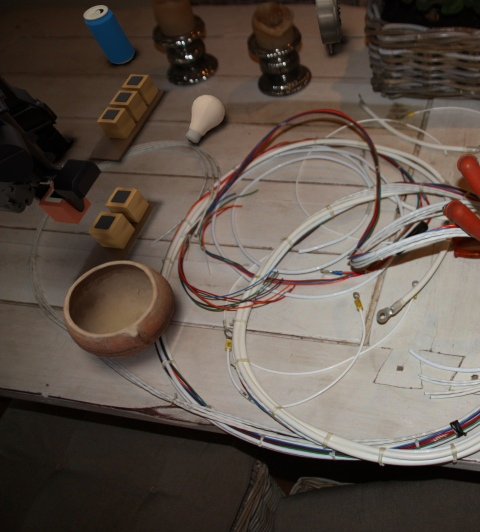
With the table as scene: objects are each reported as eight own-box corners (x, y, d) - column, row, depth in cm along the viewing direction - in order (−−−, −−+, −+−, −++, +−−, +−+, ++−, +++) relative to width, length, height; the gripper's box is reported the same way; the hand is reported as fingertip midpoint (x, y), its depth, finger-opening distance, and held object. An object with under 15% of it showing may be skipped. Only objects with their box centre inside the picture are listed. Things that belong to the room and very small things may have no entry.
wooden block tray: (79, 278, 96) (60, 261, 92) (126, 201, 106) (111, 182, 101) (113, 282, 95) (96, 265, 90) (158, 204, 104) (144, 185, 100)
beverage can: (141, 53, 134) (115, 7, 124) (122, 68, 131) (93, 22, 121) (124, 47, 136) (97, 1, 127) (105, 62, 134) (75, 16, 124)
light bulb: (188, 134, 107) (215, 89, 109) (168, 130, 111) (195, 86, 113) (211, 153, 113) (236, 109, 115) (191, 148, 116) (216, 106, 118)
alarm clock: (323, 31, 131) (306, -38, 117) (345, 27, 130) (331, -42, 117) (325, 58, 124) (307, -11, 111) (348, 54, 124) (333, -15, 111)
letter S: (55, 221, 91) (36, 203, 87) (69, 201, 93) (51, 182, 89) (78, 224, 90) (60, 206, 86) (91, 203, 93) (75, 185, 89)
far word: (90, 159, 114) (75, 140, 109) (138, 91, 125) (126, 71, 121) (119, 161, 112) (105, 142, 108) (165, 92, 124) (154, 72, 120)
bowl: (161, 374, 83) (127, 346, 75) (73, 362, 86) (31, 334, 78) (199, 288, 92) (172, 254, 84) (117, 280, 95) (83, 246, 87)
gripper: (-85, 176, 76) (-4, 241, 89) (27, 188, 72) (94, 254, 85) (-36, 121, 81) (33, 190, 94) (71, 129, 78) (127, 199, 91)
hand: (70, 208), depth 91 cm, fingers closed on letter S, 4 cm apart
